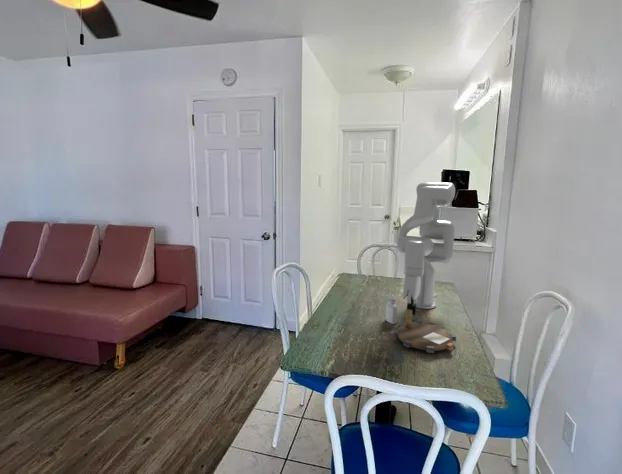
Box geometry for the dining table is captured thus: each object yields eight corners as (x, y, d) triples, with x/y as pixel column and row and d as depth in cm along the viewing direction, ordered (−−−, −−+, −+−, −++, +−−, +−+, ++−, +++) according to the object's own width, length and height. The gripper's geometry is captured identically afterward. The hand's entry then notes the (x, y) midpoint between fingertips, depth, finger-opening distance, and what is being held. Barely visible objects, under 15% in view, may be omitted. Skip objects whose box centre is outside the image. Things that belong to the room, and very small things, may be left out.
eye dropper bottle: (386, 323, 151) (387, 297, 149) (385, 318, 157) (386, 293, 155) (396, 324, 151) (398, 298, 149) (395, 319, 156) (396, 293, 154)
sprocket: (381, 335, 137) (382, 314, 135) (416, 320, 151) (418, 301, 149) (433, 359, 119) (435, 335, 118) (467, 340, 133) (470, 318, 131)
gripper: (409, 265, 149) (406, 306, 152) (399, 273, 136) (396, 318, 139) (427, 267, 145) (424, 309, 149) (419, 276, 133) (416, 322, 136)
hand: (411, 313), depth 144 cm, fingers closed
